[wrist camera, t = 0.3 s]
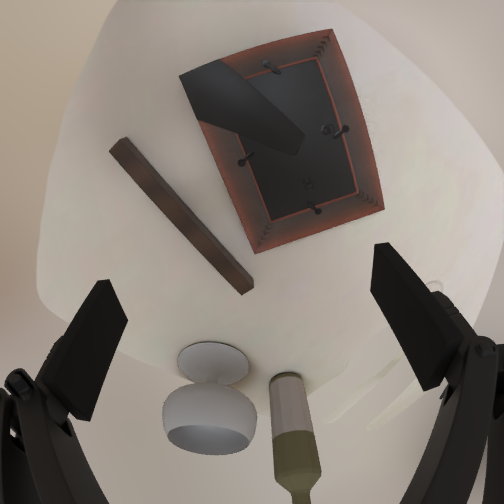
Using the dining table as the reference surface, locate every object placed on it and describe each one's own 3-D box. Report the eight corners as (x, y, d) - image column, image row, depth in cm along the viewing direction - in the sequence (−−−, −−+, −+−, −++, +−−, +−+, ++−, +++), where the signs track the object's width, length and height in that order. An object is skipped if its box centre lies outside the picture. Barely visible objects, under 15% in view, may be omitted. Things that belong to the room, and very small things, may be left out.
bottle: (278, 365, 47) (298, 534, 21) (311, 373, 49) (341, 528, 22) (260, 386, 50) (269, 539, 24) (291, 393, 52) (310, 535, 25)
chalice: (213, 394, 51) (210, 462, 38) (156, 359, 46) (139, 433, 33) (270, 366, 47) (278, 443, 34) (213, 323, 42) (205, 409, 29)
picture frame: (183, 78, 26) (254, 245, 36) (178, 75, 24) (254, 255, 34) (326, 33, 24) (377, 203, 34) (333, 28, 22) (385, 210, 31)
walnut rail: (115, 148, 29) (108, 151, 27) (126, 136, 29) (119, 138, 27) (241, 286, 39) (241, 295, 37) (253, 279, 38) (254, 287, 37)
